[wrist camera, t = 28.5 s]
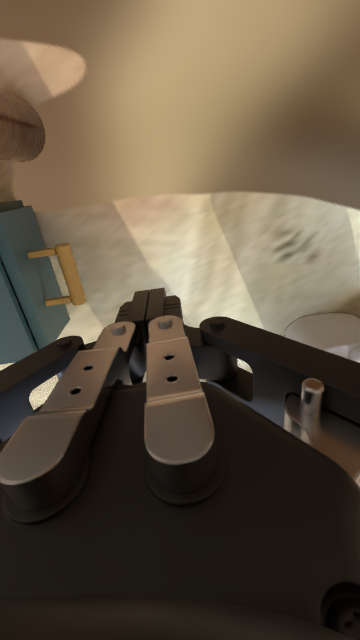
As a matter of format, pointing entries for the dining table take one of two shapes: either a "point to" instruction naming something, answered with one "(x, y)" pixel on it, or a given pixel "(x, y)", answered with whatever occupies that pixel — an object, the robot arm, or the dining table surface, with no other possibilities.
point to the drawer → (37, 274)
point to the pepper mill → (19, 129)
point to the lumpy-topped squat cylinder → (328, 333)
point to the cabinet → (12, 317)
